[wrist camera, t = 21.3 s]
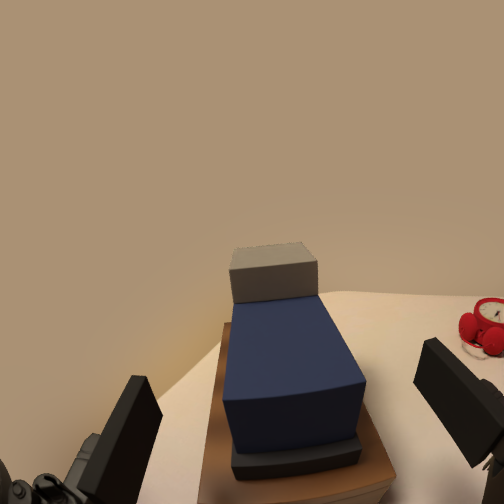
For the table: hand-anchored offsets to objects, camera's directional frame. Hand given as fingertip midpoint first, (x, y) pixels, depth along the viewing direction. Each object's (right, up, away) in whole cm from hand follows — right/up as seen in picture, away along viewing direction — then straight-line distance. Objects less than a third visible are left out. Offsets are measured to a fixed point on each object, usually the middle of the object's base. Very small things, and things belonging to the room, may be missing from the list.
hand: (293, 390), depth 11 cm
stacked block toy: (+1, -5, +11) cm, 12 cm away
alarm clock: (+34, -7, +17) cm, 39 cm away
